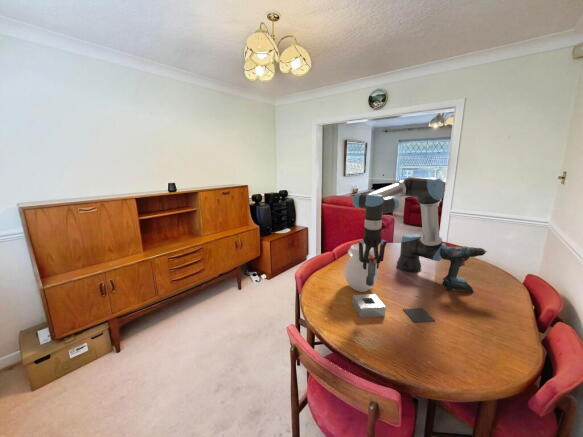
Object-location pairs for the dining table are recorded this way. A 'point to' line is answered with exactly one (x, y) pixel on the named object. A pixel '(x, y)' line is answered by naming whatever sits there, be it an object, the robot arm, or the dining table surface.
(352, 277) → the white vase
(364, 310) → the block
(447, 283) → the power drill
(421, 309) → the mat
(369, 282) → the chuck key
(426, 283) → the dining table surface
